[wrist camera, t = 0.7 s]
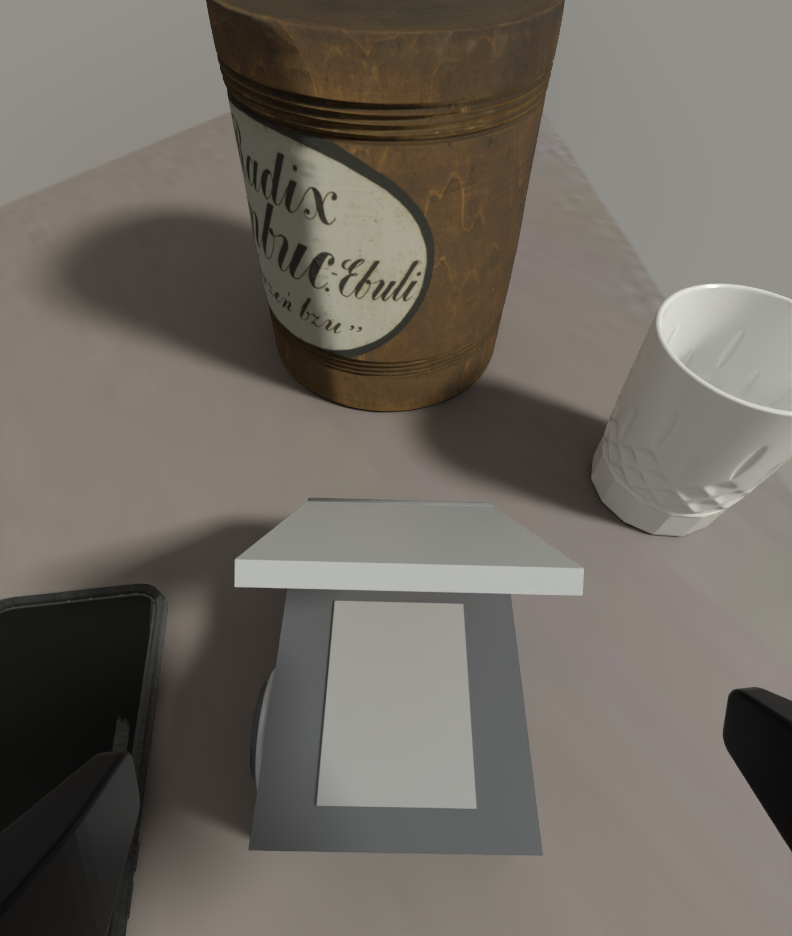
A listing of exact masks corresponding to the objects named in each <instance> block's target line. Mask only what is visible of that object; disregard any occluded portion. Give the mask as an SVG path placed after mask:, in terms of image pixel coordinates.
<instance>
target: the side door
mask: <svg viewBox="0 0 792 936" xmlns="http://www.w3.org/2000/svg"><path fill="white" fill-rule="evenodd" d="M583 576H584V568H583V567H581V566H580V565H578V564H577V563H576V562H574V561H573V560H571V559H570V558H568V557H567V556H565V555H564V554H562V553H561V552H560V551H558V550H557V549H555V548H554V547H552V546H551V545H549V544H548V543H546V542H545V541H544V540H542V539H541V538H539V537H538V536H536V535H535V534H533V533H532V532H530V531H529V530H528V529H526V528H525V527H523V526H522V525H520V524H519V523H517V522H516V521H515V520H513V519H512V518H510V517H509V516H507V515H506V514H504V513H503V512H501V511H500V510H499V509H497V508H496V507H494V506H493V503H483V502H446V501H409V500H372V499H335V498H308V501H307V502H306V503H305V504H303V505H302V506H301V507H300V508H298V509H297V510H296V511H295V512H293V513H292V514H291V515H290V516H288V517H287V518H286V519H285V520H283V521H282V522H281V523H280V524H278V525H277V526H276V527H275V528H273V529H272V530H271V531H270V532H268V533H267V534H266V535H265V536H263V537H262V538H261V539H260V540H258V541H257V542H256V543H255V544H253V545H252V546H251V547H250V548H248V549H247V550H246V551H245V552H243V553H242V554H241V555H240V556H238V557H237V558H236V559H235V587H256V588H296V589H337V590H377V591H418V592H458V593H499V594H539V595H579V596H582V595H583Z"/></svg>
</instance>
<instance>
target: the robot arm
mask: <svg viewBox="0 0 792 936" xmlns="http://www.w3.org/2000/svg"><path fill="white" fill-rule="evenodd" d="M723 739H724V743H725V746H726V748H727V750H728V752H729V754H730V755H731V757H732V759H733V760H734V762H735V763H736V765H737V766H738V768H739V770H740V771H741V773H742V774H743V776H744V778H745V779H746V781H747V782H748V784H749V785H750V787H751V789H752V790H753V792H754V793H755V795H756V797H757V798H758V800H759V801H760V803H761V804H762V806H763V808H764V809H765V811H766V812H767V814H768V816H769V817H770V819H771V820H772V822H773V823H774V825H775V827H776V828H777V830H778V831H779V833H780V835H781V836H782V838H783V839H784V841H785V842H786V844H787V845H788V847H789V848H790V850H791V851H792V701H791V700H788V699H786V698H784V697H781V696H779V695H777V694H774V693H772V692H770V691H767V690H765V689H762V688H758V687H751V688H741V689H735V690H733V691H731V693H730V694H729V696H728V701H727V707H726V714H725V720H724V727H723ZM139 810H140V795H139V790H138V784H137V779H136V773H135V768H134V763H133V758H132V756H131V754H130V753H129V752H128V751H114V752H104V753H100V754H97V755H95V756H94V757H92V758H91V759H90V760H89V761H87V762H86V763H85V764H84V765H83V766H81V767H80V768H79V769H78V770H76V771H75V772H74V773H73V774H72V775H70V776H69V777H68V778H67V779H66V780H64V781H63V782H62V783H61V784H59V785H58V786H57V787H56V788H55V789H53V790H52V791H51V792H50V793H48V794H47V795H46V796H45V797H44V798H42V799H41V800H40V801H39V802H37V803H36V804H35V805H34V806H33V807H31V808H30V809H29V810H28V811H26V812H25V813H24V814H23V815H22V816H20V817H19V818H18V819H17V820H16V821H14V822H13V823H12V824H11V825H9V826H8V827H7V828H6V829H5V830H3V831H2V832H1V833H0V936H106V933H107V929H108V926H109V922H110V919H111V915H112V911H113V908H114V904H115V900H116V897H117V893H118V889H119V886H120V882H121V878H122V875H123V871H124V867H125V864H126V860H127V856H128V853H129V849H130V845H131V842H132V838H133V834H134V831H135V827H136V823H137V820H138V816H139Z"/></svg>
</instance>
